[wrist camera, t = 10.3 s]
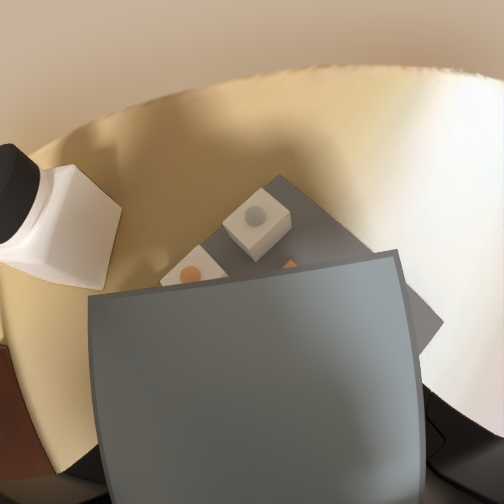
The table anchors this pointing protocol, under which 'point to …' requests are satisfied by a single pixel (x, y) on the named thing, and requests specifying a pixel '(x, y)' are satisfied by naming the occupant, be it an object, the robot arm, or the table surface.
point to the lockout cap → (262, 388)
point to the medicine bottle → (55, 222)
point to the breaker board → (282, 246)
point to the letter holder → (17, 430)
